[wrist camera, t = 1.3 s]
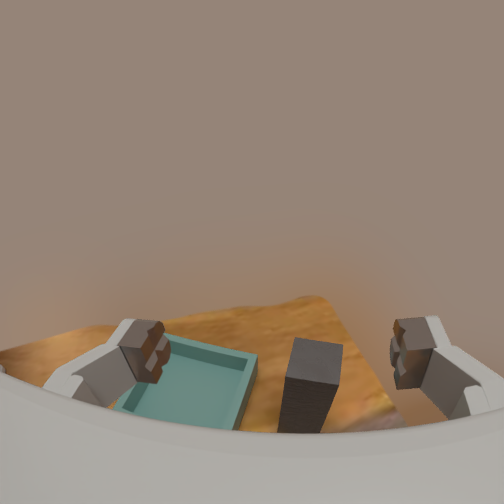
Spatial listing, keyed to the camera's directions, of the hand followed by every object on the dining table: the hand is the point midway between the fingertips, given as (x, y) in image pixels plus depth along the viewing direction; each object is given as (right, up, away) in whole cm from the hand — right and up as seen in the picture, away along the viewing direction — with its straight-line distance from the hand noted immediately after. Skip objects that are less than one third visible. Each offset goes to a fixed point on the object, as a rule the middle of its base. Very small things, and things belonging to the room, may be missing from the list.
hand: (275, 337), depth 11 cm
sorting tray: (-9, -16, +27) cm, 33 cm away
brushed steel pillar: (+5, -18, +24) cm, 30 cm away
